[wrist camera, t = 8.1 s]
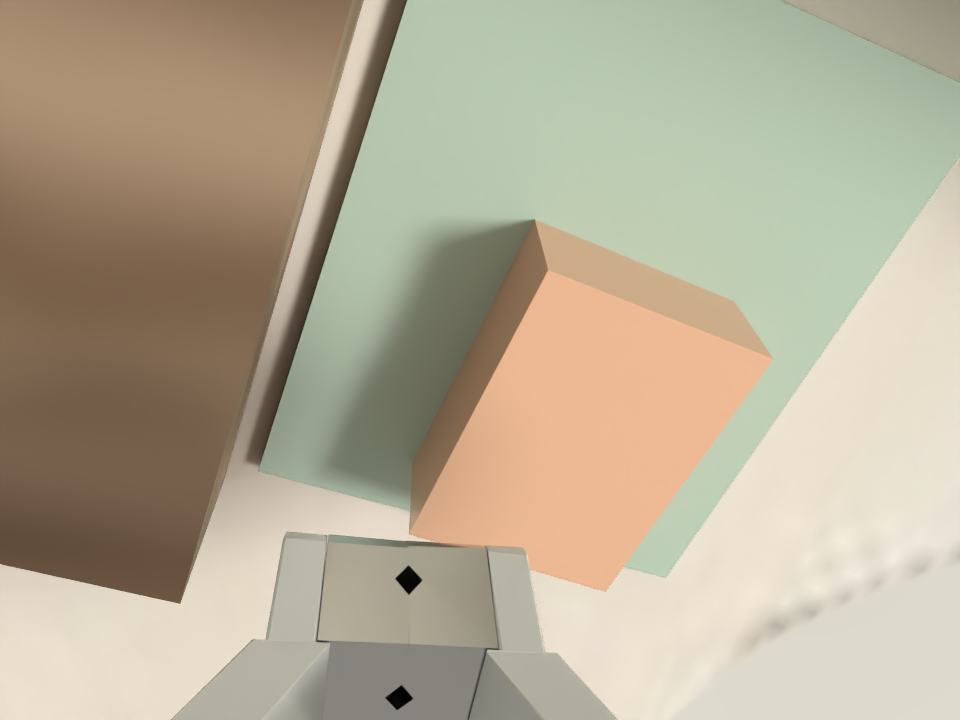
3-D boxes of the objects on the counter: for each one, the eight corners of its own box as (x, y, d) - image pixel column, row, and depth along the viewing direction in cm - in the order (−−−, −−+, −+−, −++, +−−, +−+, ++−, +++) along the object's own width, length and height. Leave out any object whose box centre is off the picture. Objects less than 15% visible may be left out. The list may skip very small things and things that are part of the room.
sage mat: (662, 567, 23) (665, 578, 23) (261, 461, 20) (257, 471, 20) (987, 95, 16) (998, 100, 16) (454, -149, 14) (454, -150, 14)
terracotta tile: (409, 534, 18) (412, 463, 20) (605, 592, 19) (589, 519, 21) (548, 270, 15) (534, 219, 17) (773, 358, 16) (734, 301, 18)
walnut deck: (222, 482, 21) (180, 603, 17) (-119, 394, 19) (-242, 510, 16) (394, -105, 14) (378, -96, 11) (-106, -324, 12) (-314, -396, 9)
